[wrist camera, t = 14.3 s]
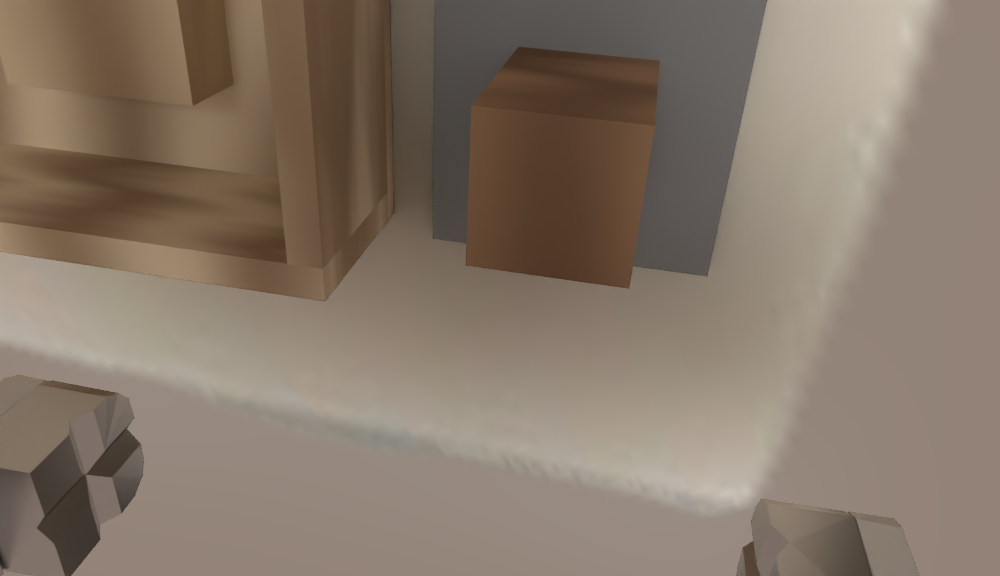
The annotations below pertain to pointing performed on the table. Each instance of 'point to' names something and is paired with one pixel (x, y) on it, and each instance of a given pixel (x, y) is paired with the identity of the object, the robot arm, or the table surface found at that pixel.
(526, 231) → the walnut block
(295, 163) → the crate
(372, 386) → the table surface
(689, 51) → the felt coaster
